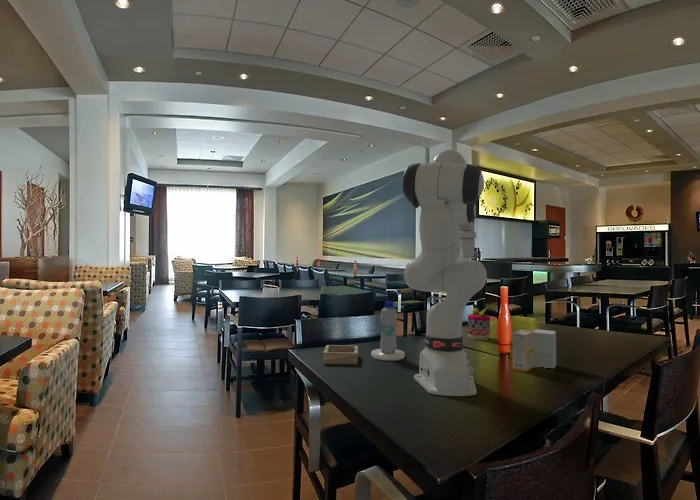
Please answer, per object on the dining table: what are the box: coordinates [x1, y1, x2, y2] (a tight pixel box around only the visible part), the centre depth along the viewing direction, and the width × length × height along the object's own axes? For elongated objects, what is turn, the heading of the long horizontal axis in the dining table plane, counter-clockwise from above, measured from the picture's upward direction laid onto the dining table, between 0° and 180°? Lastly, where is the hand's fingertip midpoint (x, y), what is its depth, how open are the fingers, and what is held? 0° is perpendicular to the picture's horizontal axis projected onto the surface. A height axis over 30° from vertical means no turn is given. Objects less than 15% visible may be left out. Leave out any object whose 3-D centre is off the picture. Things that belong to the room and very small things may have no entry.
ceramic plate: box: [370, 348, 406, 362], centre depth 157 cm, size 13×13×2 cm
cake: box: [466, 306, 491, 341], centre depth 193 cm, size 10×11×15 cm
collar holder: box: [322, 344, 359, 365], centre depth 152 cm, size 12×12×4 cm
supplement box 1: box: [512, 329, 536, 373], centre depth 142 cm, size 8×5×13 cm, turn 135°
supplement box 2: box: [533, 328, 557, 370], centre depth 146 cm, size 7×7×13 cm
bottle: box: [379, 301, 398, 354], centre depth 157 cm, size 7×7×20 cm
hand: (461, 270), depth 155 cm, fingers open, 8 cm apart
